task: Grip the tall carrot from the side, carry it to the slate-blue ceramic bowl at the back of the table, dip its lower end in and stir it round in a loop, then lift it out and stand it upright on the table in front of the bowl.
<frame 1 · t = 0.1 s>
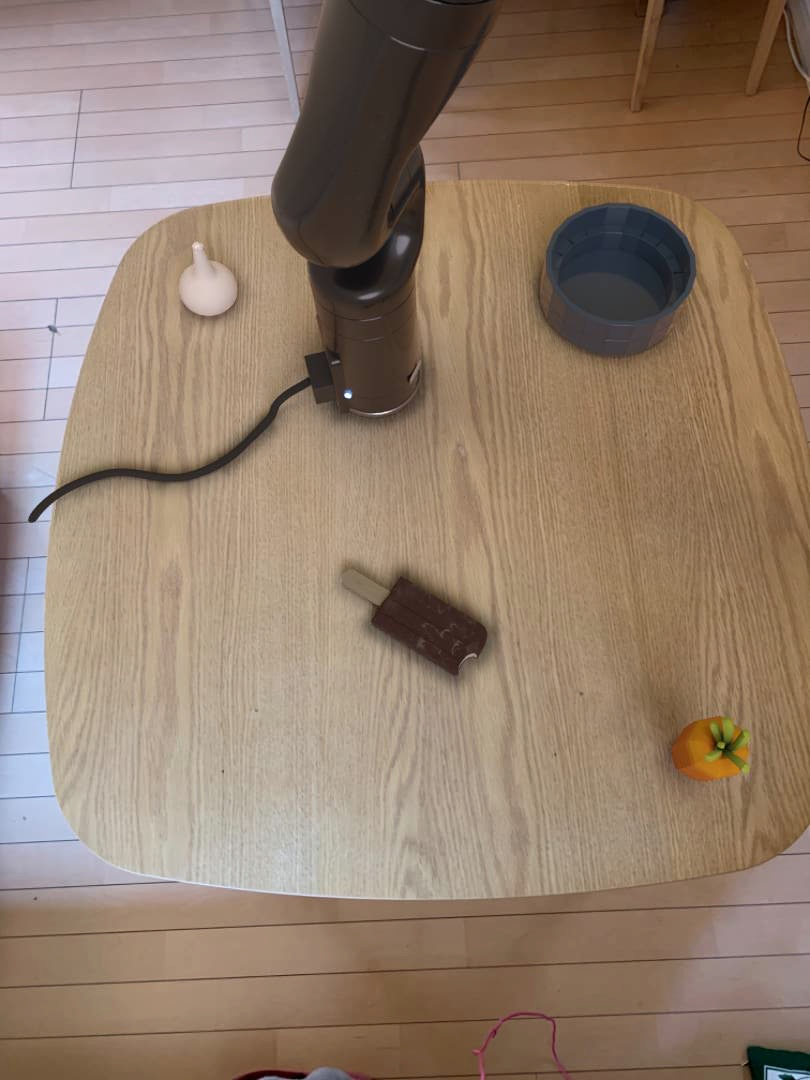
ice cream bar: (410, 617, 81), on the table
carrot: (680, 760, 76), on the table
bowl: (609, 298, 92), on the table
garlic bulb: (212, 298, 94), on the table
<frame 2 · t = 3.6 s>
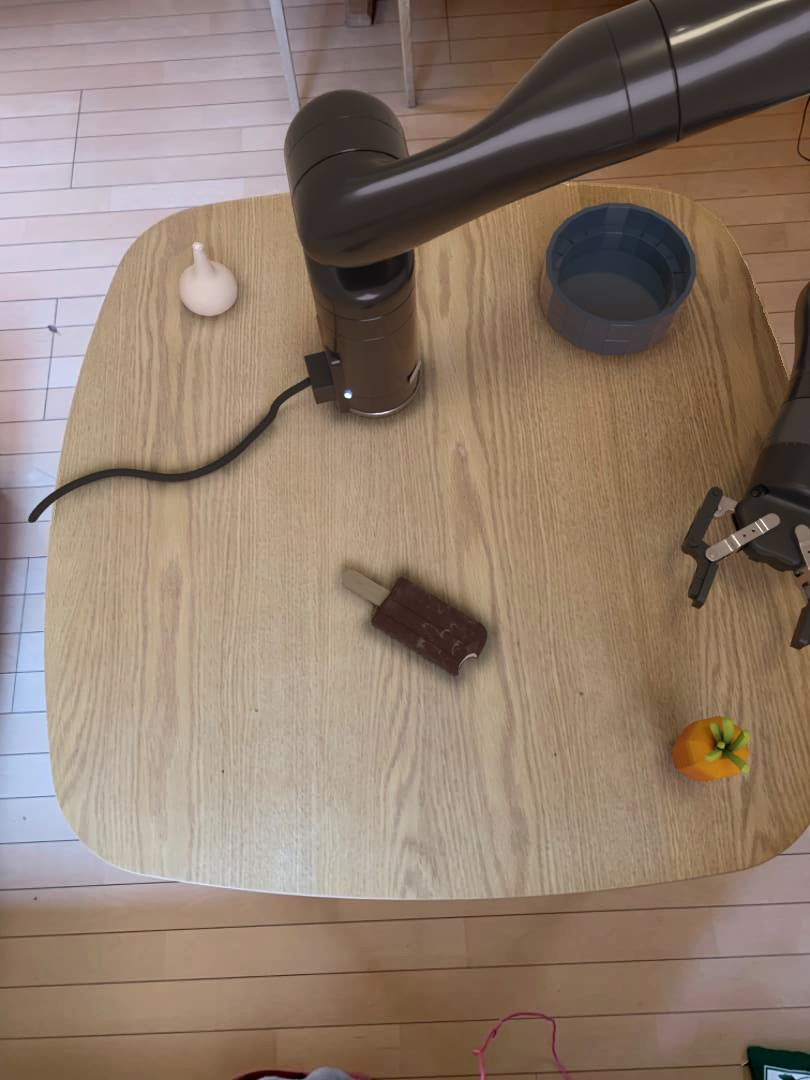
hand: (747, 626, 71), 9 cm above the table, tool horizontal, fingers open, 8 cm apart
nothing on the table moved.
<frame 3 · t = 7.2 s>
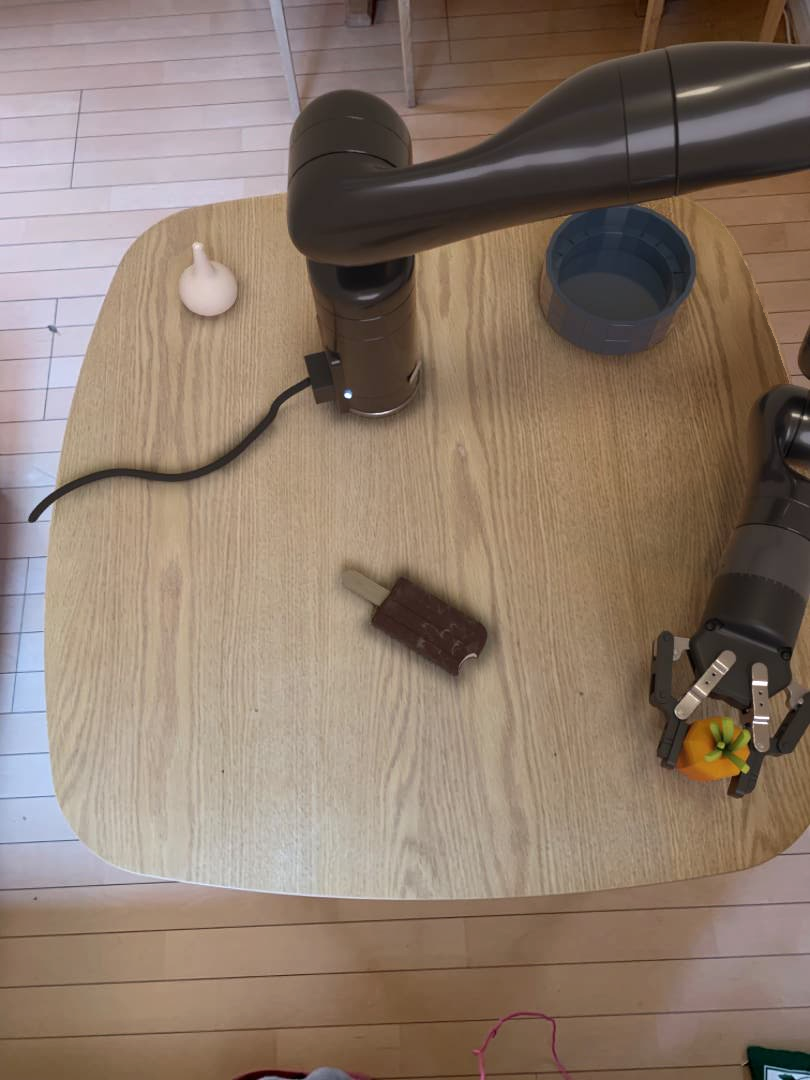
hand: (701, 781, 67), 9 cm above the table, tool horizontal, fingers closed on carrot, 5 cm apart
carrot: (681, 760, 76), on the table, touching gripper
everything else where it was.
when the fingers open (8 cm above the table, at t = 32.5 s): carrot stays where it is, on the table.
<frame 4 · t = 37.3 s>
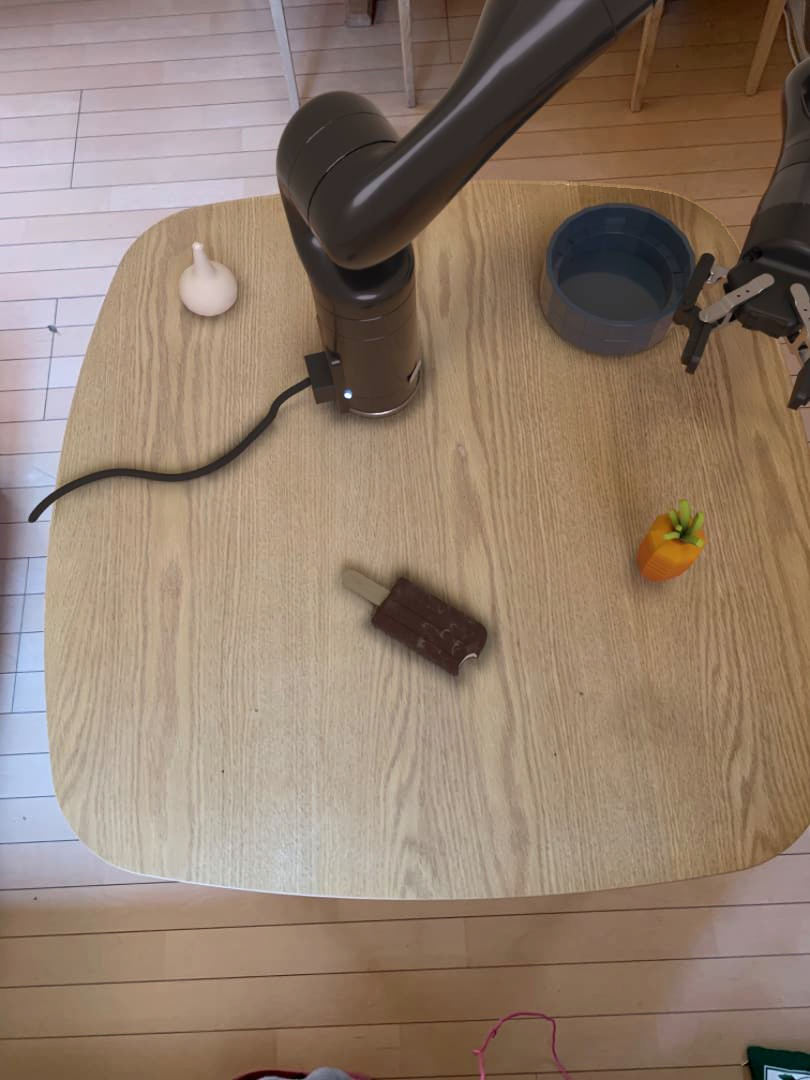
hand: (743, 386, 68), 18 cm above the table, tool horizontal, fingers open, 8 cm apart
carrot: (647, 575, 82), on the table
everything else where it was.
at the end: carrot tilted 0°; the gripper is holding nothing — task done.
